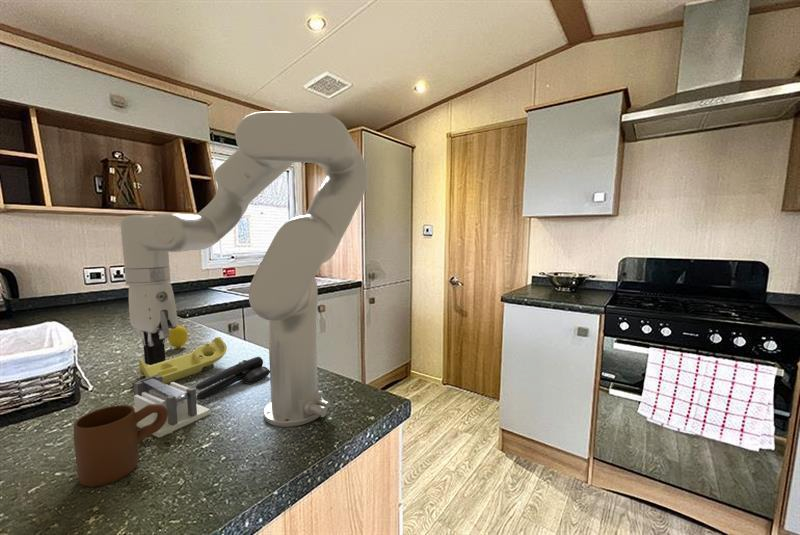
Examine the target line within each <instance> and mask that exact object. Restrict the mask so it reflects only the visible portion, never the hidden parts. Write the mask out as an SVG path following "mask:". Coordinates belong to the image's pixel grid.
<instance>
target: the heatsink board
mask: <svg viewBox="0 0 800 535" xmlns="http://www.w3.org/2000/svg"><path fill="white" fill-rule="evenodd" d="M152 378H154V379H156V380H158V381H160V382H162V383H163V380H162V376H160V375H155V376H151V377H148V378H146V377H144V378H142V379H140V380H136V381H134V382H132V388H133V390H132V391H133V392H132V393H133V403H134V405H133V406H132V407H133V408H134V409H135V412H137V411H139V410H141V409H142V408H144V407H146V406H147V405H150V404H161V405H163V406H165V407H166V409H167V411H168V416H167V420H166V422H165V424H164V425H163V426H162V427H161V428H160V429H159V430H158V431H156V432H155V433H153V434H151V435H152V436H154V437H156V438H158V439H159V438H162V437H164V436H167V435H169V434H170V433H173V432H174V431H176V430H177V431H178V430H179V429H181V428H184V427H185V426H188V425H189V424H192V423H194V422H196V421H198V420H200V419H202V418H205V417H207V416H209V415H211V409H210V408H207V407H205V406H203V405H201V404H198V403H197V393H196V390H197V389H196V387H195V388H194V387H192V386H191V387H188V386H185V385H182V384H180V383H177V382H175V381H173V382H170V384H168V383H166V385H168V386H170V387H172V388H174V389H176V390H178V391H180V392H182V393H184V394H187V393H189V395H190V398H188V399H185V400H183V401H180V402H178V403H176V396H174V395H170V396H165V395H163V394H161V393H159V392H157V391H155V390H154V389H152V388H150V387H148V386H146V385H144V384H143V381H146V380H149V379H152ZM156 418H157V413H152V414H150V415H149V416H147V417H145V418H144V419H142V420H141V421H139V422H138V423H137V428H139V429H141V428H142V427H144V426H146V425H149V424H151V423H153V422H154V421H155V420H156Z"/></svg>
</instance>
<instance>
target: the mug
mask: <svg viewBox="0 0 800 535" xmlns="http://www.w3.org/2000/svg"><path fill="white" fill-rule="evenodd" d="M152 413H157V418H156V420H155V421H154V422H153V423H151V424H149V425H146V426H144V427H142V428H139V429H138V426H137V423H138V422H139V421H141V420H142V419H144V418H145V417H147V416H149V415H150V414H152ZM167 416H168V411H167V409H166V407H165V406H163V405H161V404H150V405H147V406H146V407H144V408H142V409H141V410H139V411H137V412H135V409H134V407H133V406H131V405H129V404H118V405H111V406H107V407H103V408H100V409H96V410H94V411H91V412H89V413H86V414H84V415H83V416H81V417H79V418H77V419H76V421H75V422H74V425H73V444H74V446H73V447H74V454H75V455H74V456H75V464H76V471H77V480H78V481H79V483H80V484H81V485H82V486H84V487H91V488H92V487H93V488H94V487H101V486H105V485H109V484H112V483H115V482H116V481H117V482H118V481H119V480H121V479H122V478H125V477H126V476H127V475H129V474H130V473H131V472H132V471H134V470H135V469H136V467H137V466H138V464H139V460H140V451H139V445H140V443H142V441H144V440H145V439H146V438H147V437H149V436H150V435H152V434H153V433H155V432H156V431H158V430H159V429H160V428H161V427H162V426H163V425H164V424H165V422H166V420H167Z"/></svg>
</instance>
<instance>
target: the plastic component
mask: <svg viewBox="0 0 800 535" xmlns="http://www.w3.org/2000/svg"><path fill="white" fill-rule="evenodd" d="M227 348H228V346H227V345H226V343H225V342H224V340H223V339H222V337H221V336H217V337H215V338H214V339H213V340H212V341H211V342H209V343H205V344H203V345H200V346H198V347H196V348H195V349H194V350H193V352H190V353H187V354H182V355H181V356H176V357H174V358H171V359H166V360H165V361H163V362H160V363H156V364H153V365H148V366H147V364H145V359H144V358H143V359H141V358H140V359H139V362H138V363H139V364H138V372H139V373H140V374H141V376H145V377H144V378H148V377H151V376H155V375H160V376H162V380H163V383H164V384H169V383H171V382H175V381H178V380H181V379H184V378H186V377H190V376H192V375H195V374H197V373H200V372H202V371H203V368H204V367H211V366H213V365H214V363H217V362H218V361H219V360H221V359H222V358H223V357H224V356H225V354H226V352H227Z"/></svg>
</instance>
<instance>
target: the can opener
mask: <svg viewBox="0 0 800 535" xmlns="http://www.w3.org/2000/svg"><path fill="white" fill-rule="evenodd" d="M263 364H264V360H263V359H262V357H261V356H255V357H252V358H250V359H247V360H246V359H244V360H242V361H239V362H238V363H237V364H234V365H232V366H229V367H228V368H225V369H223V370H221V371H219V372H217V373H215V374H213V375H211V376H210V377H208V378H205V379H204V380H202V381H201V382H199V383H198V384H197V385H196V386H195V390H202V391H200V392H198V393H197V394H196V398H198V399H205V398H207V397H209V396H212V395H215V394H217V393H219V392H222V390H224V389H227V388H228V387H230V386H231V385H234V384H235V383H238V382H241V381H242V382H243V383H246V384H250V385H251V384H252V385H253V384H256V383H258V381H259V382H261V381H263V380H264V379H265V378H267V377H268V375H269V376H270V368H269V369H268V367H266V366H263ZM262 379H263V380H262ZM260 380H261V381H260Z"/></svg>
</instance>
